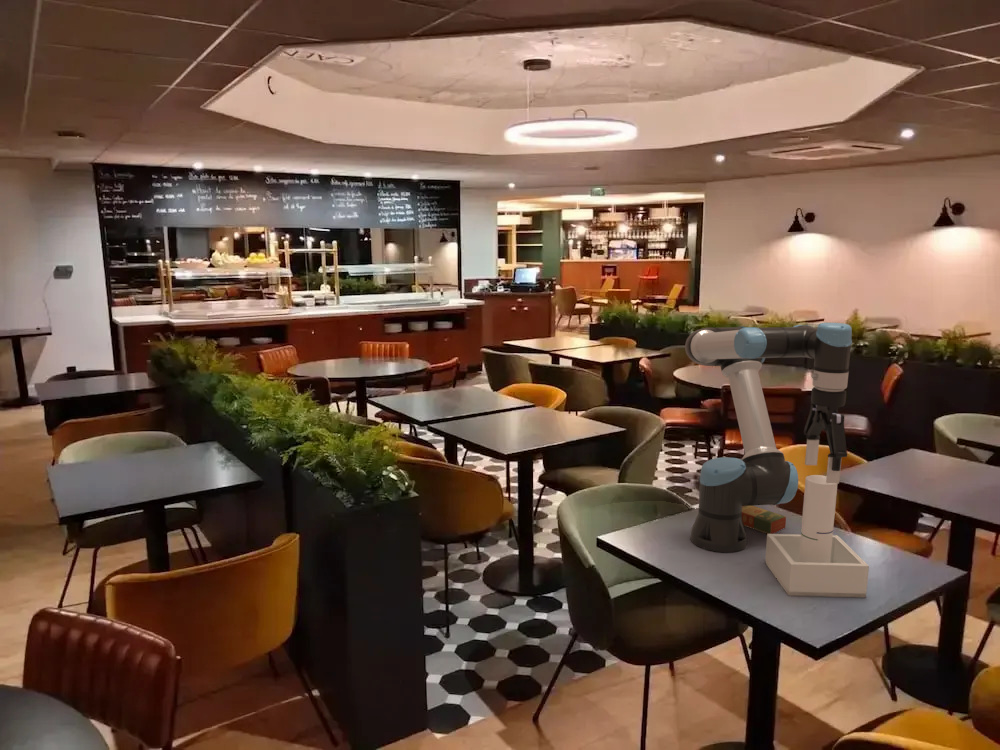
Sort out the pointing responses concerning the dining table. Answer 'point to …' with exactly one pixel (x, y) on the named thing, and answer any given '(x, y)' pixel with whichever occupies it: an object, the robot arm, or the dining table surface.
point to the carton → (762, 519)
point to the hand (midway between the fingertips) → (821, 473)
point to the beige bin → (816, 569)
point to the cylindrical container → (817, 520)
